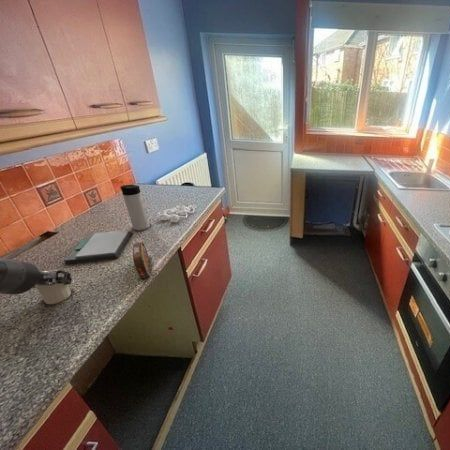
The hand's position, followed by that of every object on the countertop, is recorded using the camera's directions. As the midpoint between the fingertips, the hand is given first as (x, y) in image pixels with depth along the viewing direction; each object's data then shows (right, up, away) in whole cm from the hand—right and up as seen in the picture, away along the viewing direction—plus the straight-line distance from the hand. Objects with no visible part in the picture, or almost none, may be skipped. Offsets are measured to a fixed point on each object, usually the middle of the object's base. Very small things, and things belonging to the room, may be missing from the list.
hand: (55, 282), depth 71 cm
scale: (-5, +7, +23) cm, 25 cm away
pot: (0, -5, +1) cm, 5 cm away
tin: (+17, +1, +14) cm, 22 cm away
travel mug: (+1, +15, +38) cm, 40 cm away
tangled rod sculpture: (+10, +21, +50) cm, 56 cm away
